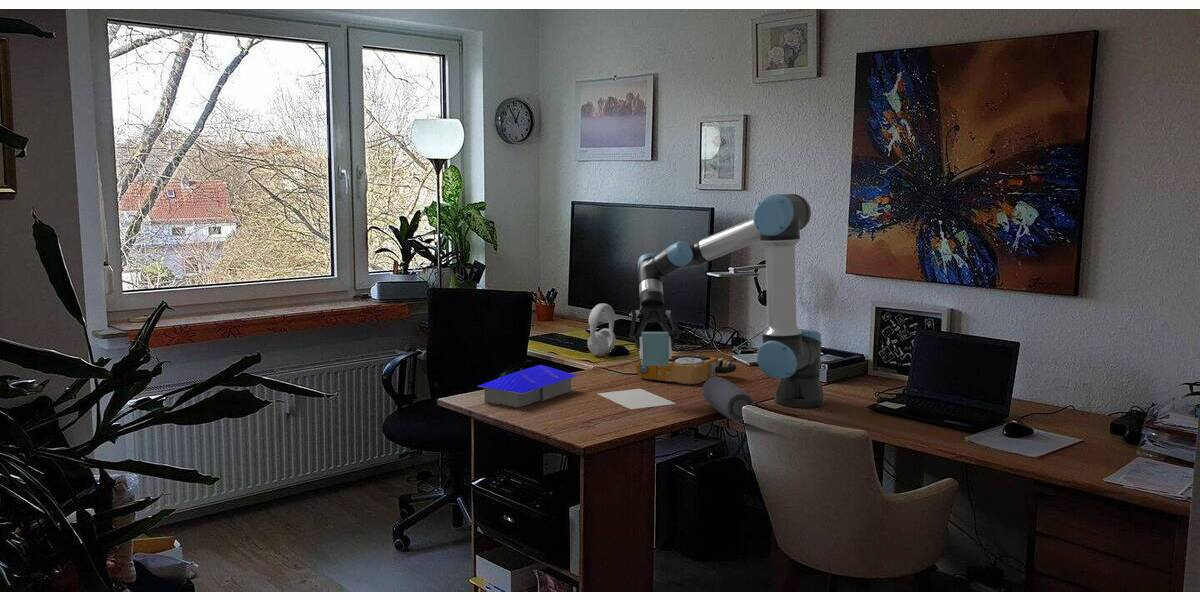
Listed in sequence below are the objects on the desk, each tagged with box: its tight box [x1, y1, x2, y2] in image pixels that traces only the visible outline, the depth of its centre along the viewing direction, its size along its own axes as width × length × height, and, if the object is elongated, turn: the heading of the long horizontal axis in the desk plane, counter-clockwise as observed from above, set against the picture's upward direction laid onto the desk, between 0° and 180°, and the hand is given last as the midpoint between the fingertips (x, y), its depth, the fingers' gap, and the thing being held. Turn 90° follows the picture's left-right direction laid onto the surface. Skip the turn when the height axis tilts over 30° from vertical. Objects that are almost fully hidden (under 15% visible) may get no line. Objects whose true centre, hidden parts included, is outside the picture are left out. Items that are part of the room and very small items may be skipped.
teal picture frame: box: [641, 331, 669, 366], centre depth 299 cm, size 8×3×10 cm, turn 93°
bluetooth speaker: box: [701, 376, 755, 423], centre depth 286 cm, size 23×9×10 cm, turn 12°
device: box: [635, 353, 737, 385], centre depth 336 cm, size 23×8×30 cm
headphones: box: [586, 303, 617, 357], centre depth 375 cm, size 18×8×20 cm, turn 156°
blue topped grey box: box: [477, 364, 579, 408], centre depth 308 cm, size 30×17×9 cm, turn 148°
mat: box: [597, 388, 677, 410], centre depth 305 cm, size 22×16×1 cm
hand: (656, 356), depth 296 cm, fingers closed on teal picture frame, 8 cm apart
